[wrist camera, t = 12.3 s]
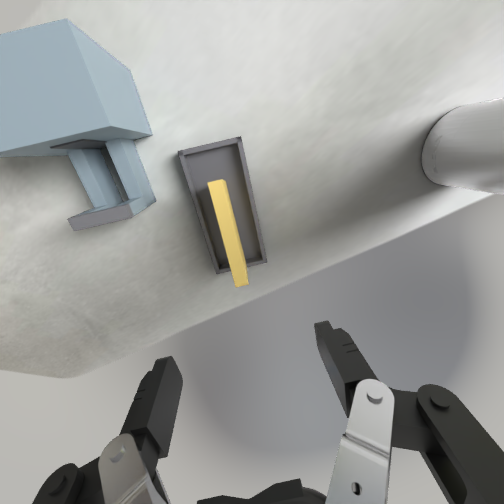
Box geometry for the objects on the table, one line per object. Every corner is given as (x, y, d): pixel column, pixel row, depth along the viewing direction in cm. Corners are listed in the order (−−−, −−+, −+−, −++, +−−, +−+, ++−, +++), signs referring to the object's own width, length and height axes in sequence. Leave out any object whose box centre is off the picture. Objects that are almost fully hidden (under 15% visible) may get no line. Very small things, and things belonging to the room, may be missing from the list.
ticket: (225, 180, 28) (221, 179, 22) (246, 264, 31) (248, 284, 25) (214, 183, 28) (207, 182, 22) (236, 267, 31) (235, 287, 25)
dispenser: (130, 70, 24) (66, 18, 14) (174, 196, 29) (148, 217, 20) (34, 93, 24) (-90, 55, 14) (96, 215, 29) (33, 244, 20)
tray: (240, 137, 27) (240, 136, 25) (265, 255, 33) (267, 262, 31) (181, 151, 27) (177, 151, 25) (217, 267, 33) (216, 274, 31)
